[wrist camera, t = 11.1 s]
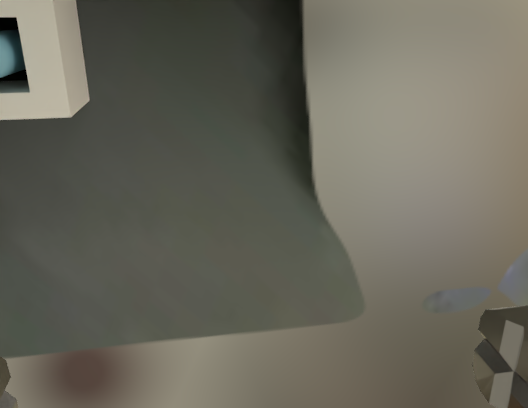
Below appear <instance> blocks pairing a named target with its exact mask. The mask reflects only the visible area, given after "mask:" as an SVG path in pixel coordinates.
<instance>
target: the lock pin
mask: <svg viewBox="0 0 528 408" xmlns="http://www.w3.org/2000/svg"><path fill="white" fill-rule="evenodd" d="M24 69H26V67H25V61H24V56H23V50H22V45H21V39H20V34H19V29H14V30H3V31H0V78H1V77H4V76H7V75H10V74H13V73H16V72H19V71H22V70H24Z"/></svg>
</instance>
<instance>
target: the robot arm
mask: <svg viewBox="0 0 528 408" xmlns="http://www.w3.org/2000/svg"><path fill="white" fill-rule="evenodd" d="M478 330H479V331H480V333H481V334H482V335H483V337H484V340H483V341H482V342H481V343H480V344H479V345H478V347H477V348H476V349H475V350H474V359H473V371H474V376H475V381H476V383H477V385H478V387H479V389H480V392H481V393H482V394H483V396H484V397H485V399H486V400H487V401H488V403H489V404H491V405H493V406H495V407H497V408H528V305H526V306H516V307H507V308H497V309H488V310H485V311H484V313H483V315H482V316H481V318H480V324H479V328H478ZM10 378H11V376H10V373H9V369H8V366H7V362H6V360H5V359H3V358H2V357H0V408H18V404H17V400H16V399H15V398H14V397H13V396H11V395H10V394H9V393H8V392H6V391H5V388H6V386H7V384H8V382H9V380H10Z"/></svg>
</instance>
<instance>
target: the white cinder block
mask: <svg viewBox="0 0 528 408" xmlns="http://www.w3.org/2000/svg"><path fill="white" fill-rule="evenodd" d="M0 17H16V18H17V23H18V29H19V34H20V39H21V45H22V50H23V56H24V61H25V67H26V72H27V78H28V80H14V81H0V120H13V119H40V118H67V117H72V116H73V115H74V114H75V113H76V112H77V111H79V110H80V109H81V108H82V107H83V106H84V105H85V104H86V103H88V102H89V101H90V99H89V92H88V85H87V78H86V70H85V63H84V56H83V49H82V42H81V34H80V27H79V20H78V13H77V6H76V0H0Z"/></svg>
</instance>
